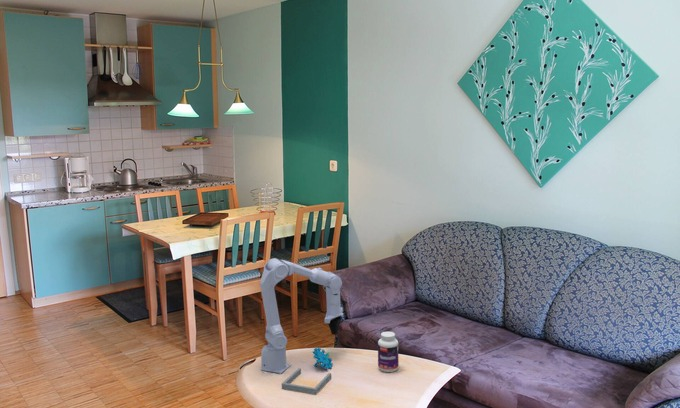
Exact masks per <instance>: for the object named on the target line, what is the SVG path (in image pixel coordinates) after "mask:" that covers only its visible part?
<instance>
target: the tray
mask: <svg viewBox="0 0 680 408" xmlns="http://www.w3.org/2000/svg"><path fill="white" fill-rule="evenodd" d="M301 374H302V369H301V367H299V368H297V369H295V371H294V372H293V373H292V374H291V375H289V376H288V377H287V378H285V380H284V381H283V382H281V389H282V390H287V391H293V392H298V393H305V394H309V395H310V394H311V395H315V396H316V395H317V394H318V393H319V392H320V391H321V390H322V389H323V388H324V387H325V386H326V385H327V384H328V383H329V381H331V379H332V373H330V372H328V373H327V374H326V375H325V376H324V378H322V380H321V381H319V382H318V384H316V386H315V387H311V386H307V385H306V386H305V385H299V384H294V383H292V382H294V381H295V379H297V378H298V377H299V376H300V375H301Z"/></svg>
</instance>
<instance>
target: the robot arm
mask: <svg viewBox="0 0 680 408" xmlns="http://www.w3.org/2000/svg"><path fill="white" fill-rule="evenodd" d="M293 274H296V275H300V276H304V277H306V278H309V281H310V282H311V283H314V284H317V285H321V286H324V287H325V295H326V298H325V299H326V312H325V317H324V324H328V326H329V330H330V333H331V335H335V336H336V335H338V332H339V327H340V323H341V321H342V319H343V316H344V311H343V309H344V308H343V307H342V306H341V287H342V285H343V281H342V278H341V277H340V276H338V275H337V274H336V273H333V272H332V271H325V270H323V268H321V267H318V268H316V267H315V268H312V269H310V268H308V267H305V266H302V265H300V264H297V263H295V262H292V261H291V262H290V261H288V260H285V259H278V258H275V257H274V258H271V259H269V260H268V261H267V262H266V263H265V264H264V265H263V273H262V275H261V278H260V282H259V285H260V286H259V287H260V291H261V296H262V302H263V309H264V313H265V320H266V326H265V335H264V339H265V340H266V341H267V344H266V345H263V347H262V348H261V353H260V355H261V356H260V359H261V360H260V361H261V368H260V370H261V371H265V372H272V373H277V374H283V373H284V372H285V371H286V370H287V369H289V367H291V364H290V363H287V352H286V351H287V349H286V346H287V344H288V338H287V336H285V333H284V329H283V327H282V325H281V320H280V316H279V315H280V313H279V308H278V301H277V298H276V297H277V296H276V292H275V286H276V285H277V284H278V283H280V282H281V281H282V280H284V279H285V278H286V277H288V276H291V275H293Z"/></svg>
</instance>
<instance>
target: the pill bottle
mask: <svg viewBox="0 0 680 408" xmlns="http://www.w3.org/2000/svg"><path fill="white" fill-rule="evenodd" d="M399 365H400V364H399V340H398V339H397V338H396V333H395V332H393V331H383V332H381V334H380V338H379V340H378V341H377V367H378V369H379V370H380V371H381V372H384V373H393V372H396V371H397V370H398V369H399Z"/></svg>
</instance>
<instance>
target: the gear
mask: <svg viewBox="0 0 680 408" xmlns="http://www.w3.org/2000/svg"><path fill="white" fill-rule="evenodd" d="M312 354H313V358H314V359H316V361H315V363H314V364H313V366H314V367H317V366H318V365H319V364H320V365H319V366H320V367H321V368H324V369H326V370H328V369H329V370H330V369H332V366H333V363H332V361H333V360H332V358H331V357H330V352H328V351H327V352H326V350H324V349H322V348H320V347H314V348H313V351H312Z"/></svg>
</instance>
